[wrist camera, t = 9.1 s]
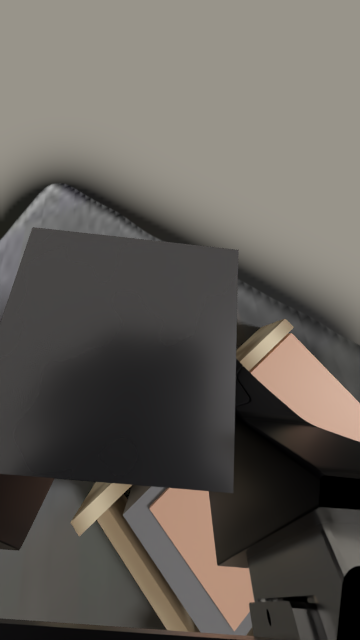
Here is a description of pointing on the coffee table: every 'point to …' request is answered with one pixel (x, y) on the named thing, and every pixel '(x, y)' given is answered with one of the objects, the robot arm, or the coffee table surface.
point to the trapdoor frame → (108, 511)
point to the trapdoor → (194, 505)
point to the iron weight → (120, 362)
